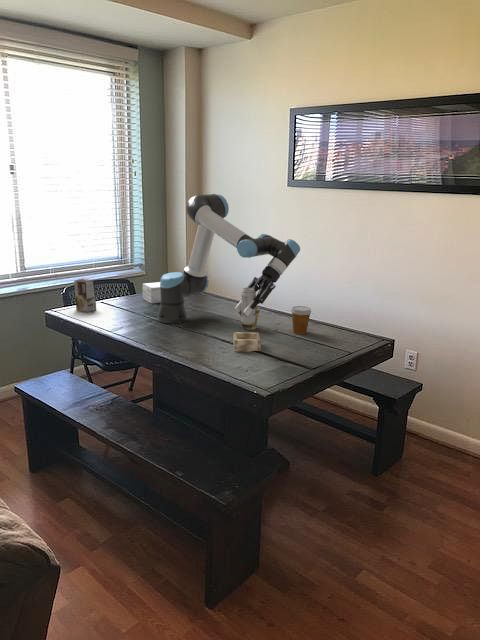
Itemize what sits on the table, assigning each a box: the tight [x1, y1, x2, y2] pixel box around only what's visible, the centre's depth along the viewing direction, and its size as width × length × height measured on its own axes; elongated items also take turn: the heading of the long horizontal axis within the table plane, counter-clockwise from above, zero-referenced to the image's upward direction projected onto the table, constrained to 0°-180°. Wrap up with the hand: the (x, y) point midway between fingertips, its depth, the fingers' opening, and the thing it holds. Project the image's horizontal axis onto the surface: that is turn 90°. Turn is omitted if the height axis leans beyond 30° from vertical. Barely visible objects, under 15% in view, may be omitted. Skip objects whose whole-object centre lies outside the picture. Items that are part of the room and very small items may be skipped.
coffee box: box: [73, 278, 97, 313], centre depth 279 cm, size 9×6×16 cm
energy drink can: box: [240, 287, 257, 325], centre depth 224 cm, size 6×6×15 cm
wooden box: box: [232, 331, 261, 352], centre depth 229 cm, size 11×11×5 cm
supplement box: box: [142, 281, 161, 304], centre depth 306 cm, size 17×13×9 cm
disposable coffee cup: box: [290, 305, 312, 335], centre depth 251 cm, size 10×10×12 cm
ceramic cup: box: [237, 306, 260, 331], centre depth 257 cm, size 13×10×10 cm
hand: (241, 312), depth 223 cm, fingers closed on energy drink can, 6 cm apart
